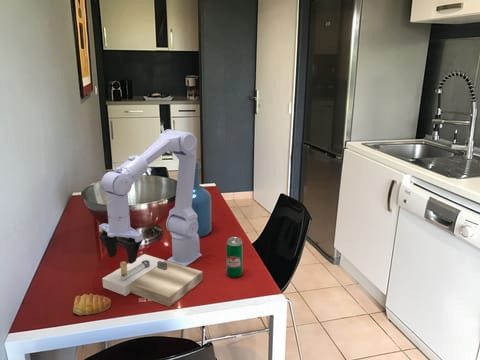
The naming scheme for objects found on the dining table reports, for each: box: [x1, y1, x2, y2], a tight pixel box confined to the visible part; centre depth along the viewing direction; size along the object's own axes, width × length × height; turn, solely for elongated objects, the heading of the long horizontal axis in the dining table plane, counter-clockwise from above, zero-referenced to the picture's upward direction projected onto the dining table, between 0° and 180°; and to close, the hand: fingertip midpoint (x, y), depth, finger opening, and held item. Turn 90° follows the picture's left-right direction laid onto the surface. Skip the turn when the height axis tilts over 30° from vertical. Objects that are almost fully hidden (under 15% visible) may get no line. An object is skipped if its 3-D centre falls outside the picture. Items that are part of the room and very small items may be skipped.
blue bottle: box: [192, 158, 213, 238], centre depth 153 cm, size 14×13×30 cm
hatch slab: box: [130, 260, 204, 308], centre depth 118 cm, size 16×14×3 cm
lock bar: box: [119, 260, 150, 281], centre depth 119 cm, size 11×2×5 cm, turn 151°
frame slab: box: [101, 253, 167, 297], centre depth 122 cm, size 18×9×3 cm, turn 151°
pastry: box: [73, 293, 112, 316], centre depth 107 cm, size 9×7×4 cm
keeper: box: [157, 261, 167, 270], centre depth 122 cm, size 1×3×2 cm, turn 61°
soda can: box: [225, 236, 244, 279], centre depth 123 cm, size 5×5×12 cm
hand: (122, 259), depth 113 cm, fingers open, 7 cm apart
